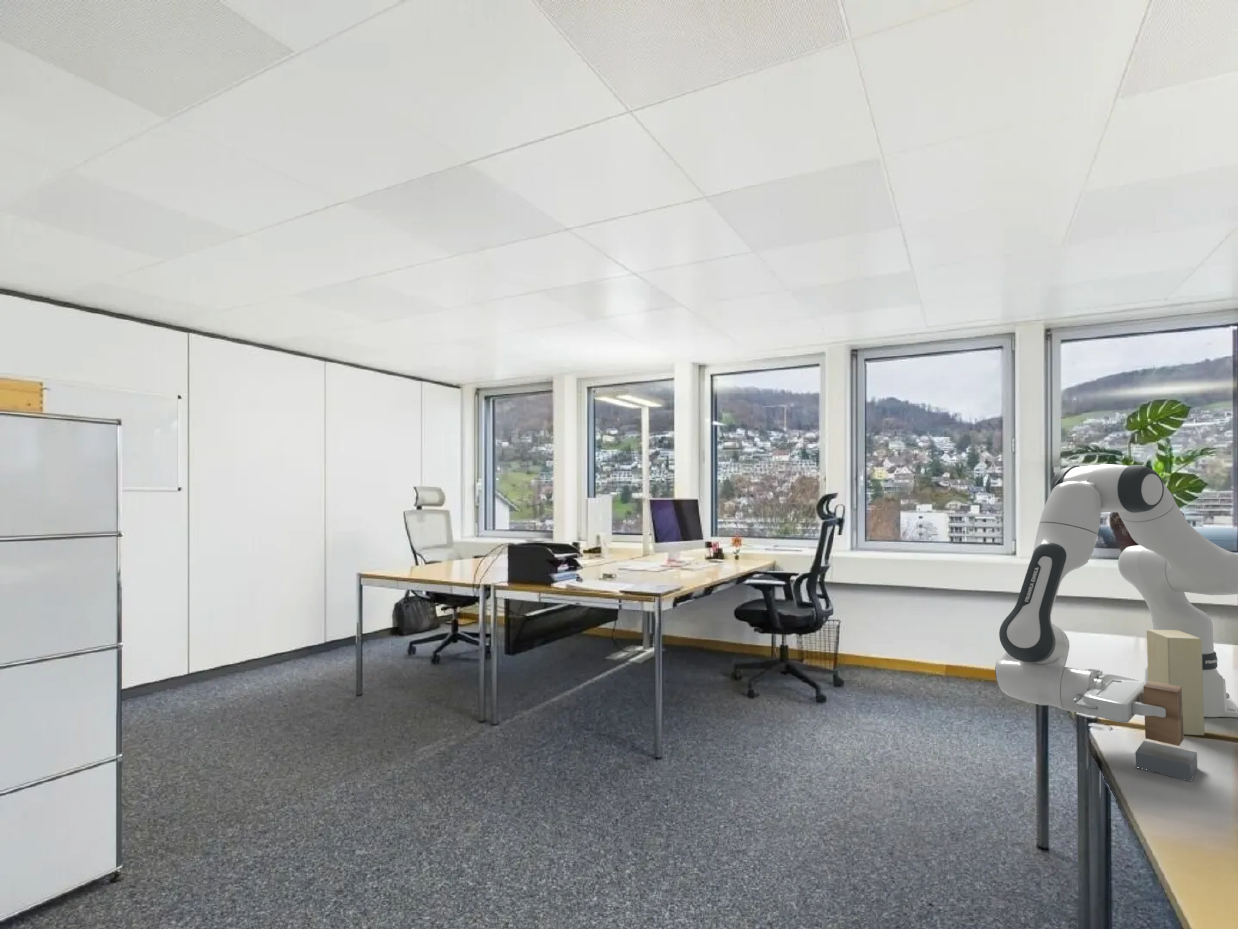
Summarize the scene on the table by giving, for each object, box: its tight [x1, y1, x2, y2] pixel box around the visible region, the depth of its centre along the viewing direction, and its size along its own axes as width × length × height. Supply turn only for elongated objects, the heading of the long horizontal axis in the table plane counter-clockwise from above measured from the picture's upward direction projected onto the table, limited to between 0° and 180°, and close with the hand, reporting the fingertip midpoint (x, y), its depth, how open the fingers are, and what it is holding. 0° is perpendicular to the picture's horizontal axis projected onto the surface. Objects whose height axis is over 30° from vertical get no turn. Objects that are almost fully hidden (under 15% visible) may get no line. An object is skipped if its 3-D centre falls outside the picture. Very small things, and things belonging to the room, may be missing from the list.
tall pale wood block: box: [1146, 629, 1205, 736], centre depth 145 cm, size 8×7×21 cm
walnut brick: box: [1143, 681, 1185, 747], centre depth 125 cm, size 5×5×10 cm
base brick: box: [1134, 740, 1198, 782], centre depth 125 cm, size 8×8×3 cm
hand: (1169, 708), depth 125 cm, fingers closed on walnut brick, 5 cm apart
